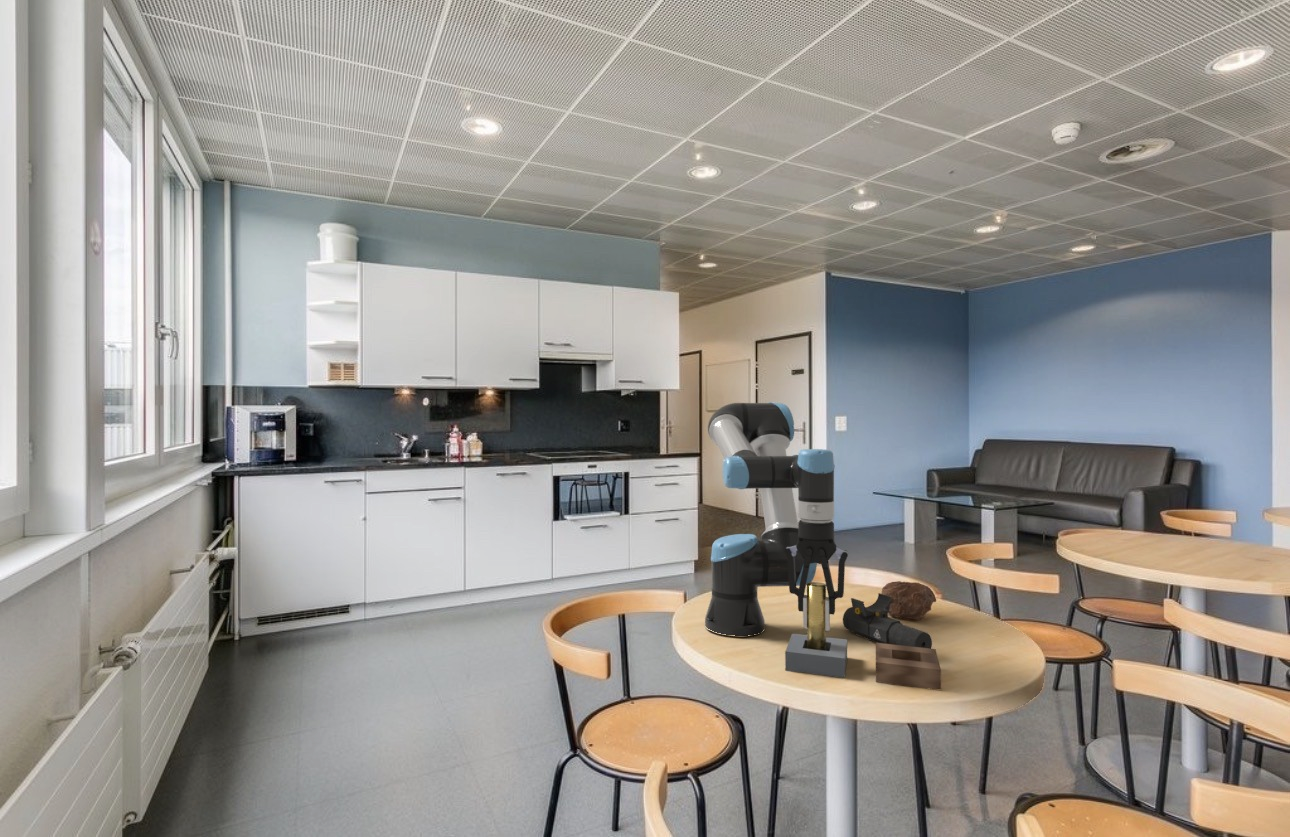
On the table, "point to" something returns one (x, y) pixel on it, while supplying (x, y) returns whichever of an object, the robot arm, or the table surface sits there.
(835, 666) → the mount block
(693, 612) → the table surface
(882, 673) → the dock block
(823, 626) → the brass pin
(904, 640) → the laser sight
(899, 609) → the brown lumpy rounded lump
